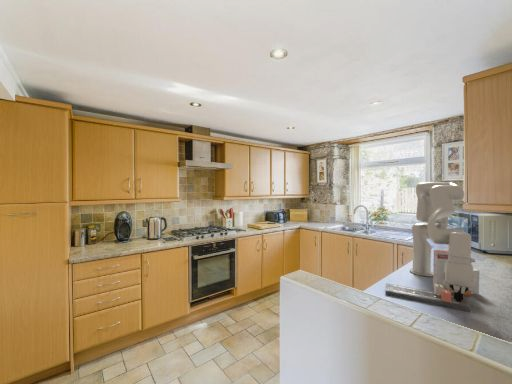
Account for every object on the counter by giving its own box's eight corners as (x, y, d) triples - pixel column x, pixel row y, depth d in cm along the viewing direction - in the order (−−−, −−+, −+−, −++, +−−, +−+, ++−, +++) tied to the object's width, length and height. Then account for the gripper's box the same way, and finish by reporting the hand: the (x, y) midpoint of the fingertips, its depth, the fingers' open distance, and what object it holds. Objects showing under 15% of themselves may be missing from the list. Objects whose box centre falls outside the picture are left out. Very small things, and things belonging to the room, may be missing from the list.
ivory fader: (434, 291, 118) (434, 283, 118) (441, 292, 116) (441, 284, 116) (435, 294, 114) (435, 285, 114) (443, 295, 113) (443, 287, 113)
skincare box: (460, 289, 127) (461, 266, 127) (469, 289, 127) (469, 266, 127) (470, 293, 121) (471, 270, 121) (479, 294, 121) (480, 270, 121)
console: (386, 286, 128) (386, 282, 128) (463, 301, 112) (463, 297, 112) (385, 294, 118) (385, 290, 118) (470, 311, 102) (470, 306, 102)
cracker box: (464, 292, 123) (465, 251, 123) (470, 297, 117) (471, 254, 117) (432, 288, 127) (433, 249, 127) (436, 292, 122) (437, 251, 121)
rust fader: (440, 297, 111) (441, 288, 111) (449, 299, 109) (449, 290, 109) (442, 301, 107) (442, 292, 107) (451, 302, 106) (451, 293, 106)
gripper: (478, 260, 105) (477, 301, 106) (436, 255, 113) (435, 293, 113) (484, 264, 99) (483, 308, 99) (439, 259, 106) (438, 300, 106)
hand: (458, 300), depth 106 cm, fingers closed
